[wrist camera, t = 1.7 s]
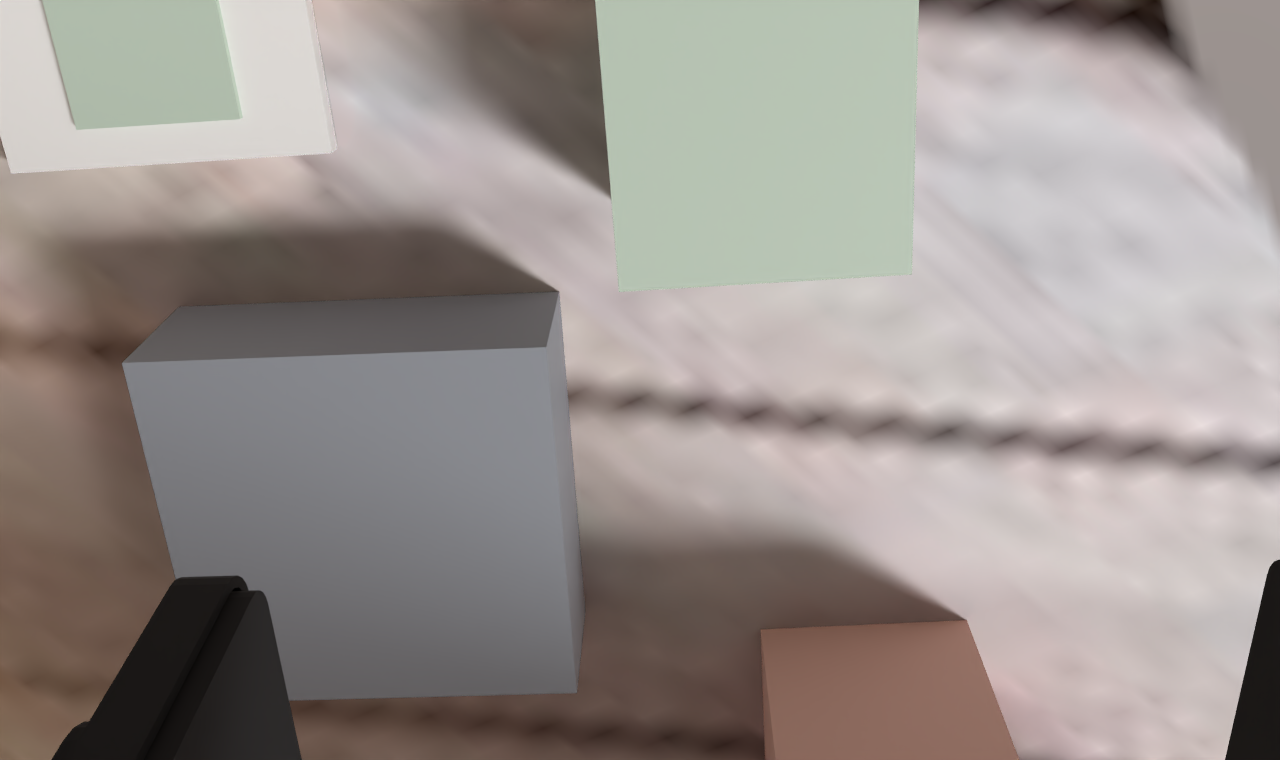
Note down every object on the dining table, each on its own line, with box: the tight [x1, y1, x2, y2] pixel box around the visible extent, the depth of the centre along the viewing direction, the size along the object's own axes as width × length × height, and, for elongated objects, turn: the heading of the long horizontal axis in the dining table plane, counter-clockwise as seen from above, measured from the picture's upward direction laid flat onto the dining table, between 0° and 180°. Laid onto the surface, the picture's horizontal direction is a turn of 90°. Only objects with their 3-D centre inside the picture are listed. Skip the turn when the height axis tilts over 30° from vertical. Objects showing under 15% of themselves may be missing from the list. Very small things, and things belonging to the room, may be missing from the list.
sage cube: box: [595, 0, 919, 292], centre depth 26 cm, size 6×6×6 cm
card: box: [0, 0, 337, 174], centre depth 28 cm, size 8×6×1 cm
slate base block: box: [122, 292, 585, 701], centre depth 32 cm, size 10×10×4 cm
